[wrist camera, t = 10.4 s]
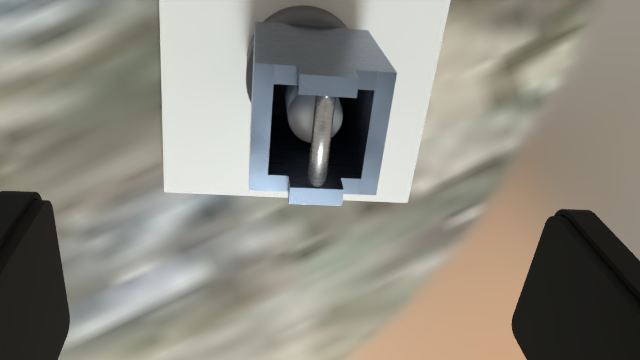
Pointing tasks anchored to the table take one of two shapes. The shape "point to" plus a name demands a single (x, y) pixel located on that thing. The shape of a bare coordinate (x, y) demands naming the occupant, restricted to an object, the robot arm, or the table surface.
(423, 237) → the table surface
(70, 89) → the table surface
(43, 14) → the table surface
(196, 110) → the shaft mount
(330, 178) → the coupler
